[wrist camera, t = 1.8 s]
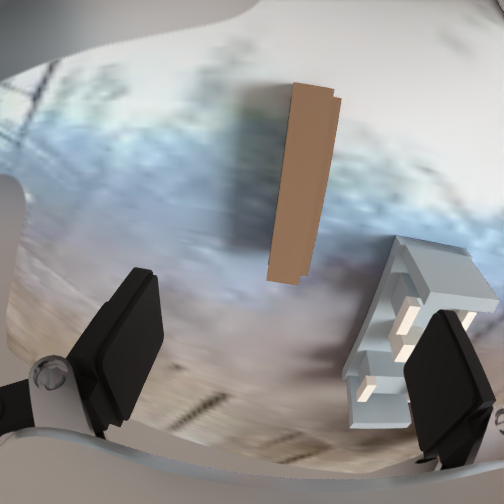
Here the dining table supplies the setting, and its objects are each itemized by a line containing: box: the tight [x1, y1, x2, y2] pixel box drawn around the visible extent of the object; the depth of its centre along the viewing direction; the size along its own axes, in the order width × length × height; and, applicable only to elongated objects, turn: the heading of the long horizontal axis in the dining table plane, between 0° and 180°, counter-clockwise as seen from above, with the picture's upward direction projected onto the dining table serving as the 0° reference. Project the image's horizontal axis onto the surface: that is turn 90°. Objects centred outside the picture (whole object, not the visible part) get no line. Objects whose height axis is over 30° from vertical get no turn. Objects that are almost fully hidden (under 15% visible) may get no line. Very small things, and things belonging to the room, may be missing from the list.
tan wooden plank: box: [266, 82, 341, 285], centre depth 22 cm, size 14×3×5 cm, turn 174°
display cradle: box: [342, 235, 500, 429], centre depth 26 cm, size 18×8×8 cm, turn 175°
